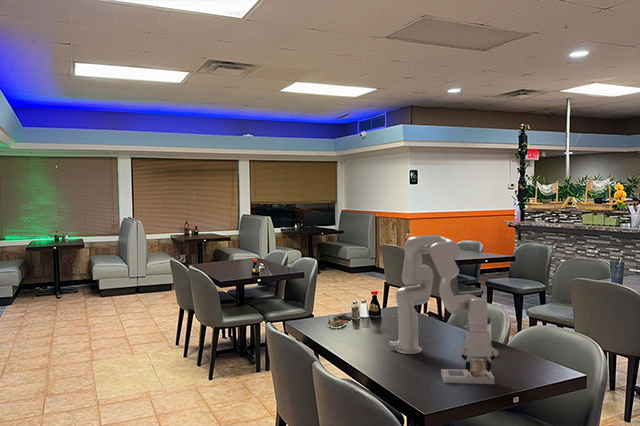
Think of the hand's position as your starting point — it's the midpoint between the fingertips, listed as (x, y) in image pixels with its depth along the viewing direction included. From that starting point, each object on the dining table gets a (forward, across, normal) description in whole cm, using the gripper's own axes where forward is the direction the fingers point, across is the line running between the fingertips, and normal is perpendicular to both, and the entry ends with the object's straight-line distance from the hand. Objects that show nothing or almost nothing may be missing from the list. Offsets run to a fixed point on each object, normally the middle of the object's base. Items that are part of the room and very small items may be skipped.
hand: (478, 370), depth 208 cm
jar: (+4, +12, +57) cm, 58 cm away
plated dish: (+5, -63, +87) cm, 108 cm away
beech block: (+4, 0, 0) cm, 4 cm away
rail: (+4, -4, 0) cm, 6 cm away
